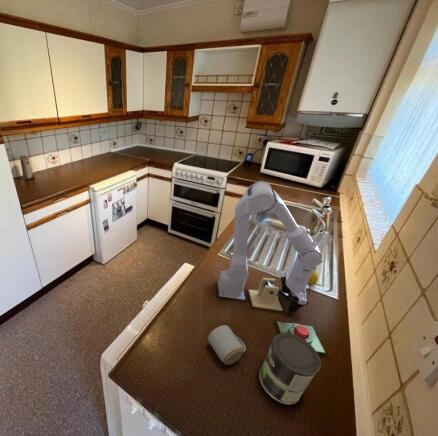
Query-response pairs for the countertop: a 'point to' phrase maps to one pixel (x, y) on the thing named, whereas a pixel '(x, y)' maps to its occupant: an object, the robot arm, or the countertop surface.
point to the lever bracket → (266, 296)
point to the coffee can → (288, 368)
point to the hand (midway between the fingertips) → (287, 302)
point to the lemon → (313, 279)
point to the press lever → (279, 290)
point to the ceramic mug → (226, 344)
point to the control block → (311, 338)
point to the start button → (301, 331)
